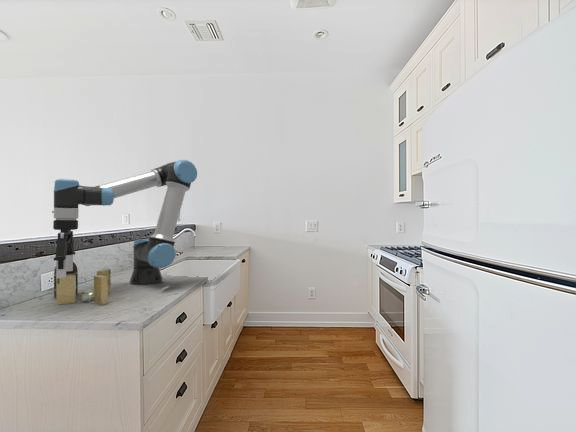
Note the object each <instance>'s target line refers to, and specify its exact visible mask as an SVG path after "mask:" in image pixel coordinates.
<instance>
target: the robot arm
mask: <svg viewBox="0 0 576 432" xmlns="http://www.w3.org/2000/svg"><path fill="white" fill-rule="evenodd" d="M197 178H198V170H197V168H196V166H195V164H194V163H193V162H192V161H190V160H188V159H178V160H176V161H173V162H169V163H168V162H167V163H166V164H163V165H160V166H158V167H155V168H153V169H151V170H150V171H149V172H145V173H140V174H138V175H133V176H129V177H125V178H122V179H118V180H115V181H110V182H106V183H103V184H100V185H96V186H87V185H85V186H84V185H80V182H79V180H77V179H69V178H58V179H55V180H54V189H53V210H52V211H51V214H53V219H54V220H53V223H52V224H53V226H52V227H53V228H52V229H53V230H55V231H56V230H57V231H59V232H58V233H57V242H56V247H55V257H54V258H53V261H56V265H55V267H56V278H66V271H73V262H74V256H75V255H76V251H75V247H74V231H73V230H75V231H77V230H78V228H79V220H78V219H79V213H80V212H79V205H82V206H85V207H90V206H91V207H92V206H112V205H113V204H114V201H115V200H114V199H117V198H120V197H125V196H127V195H130V194H134V193H137V192H140V191H143V190H147V189H151V188H155V187H157V188H160V187H165V186H166V187H167V188H166V192H165V195H164V198H163V202H162V206H161V209H160V213H159V215H158V219H157V222H156V226H155V229H154V233H153V234H151V235H149V238H141V239H135V240H134V241H133V246H132V248H133V271H132V273H131V276H130V279H129V284H130V285H133V286H149V285H155V284H163V283H162V282H163V275H162V273H161V272H162V271H161V270H160V269H163V268H167V267H169V266H170V265H171V264H172V263H174V260H175V258H176V256H177V255H176V254H177V252H176V249H175V243H176V240H175V239H174V235H175V230H176V226H177V223H178V220H179V216H180V212H181V209H182V206H183V201H184V198H185V195H186V192H189V191H190V188H191V186H192V183H193V182H194V181H195V180H197Z"/></svg>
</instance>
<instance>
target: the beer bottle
mask: <svg viewBox="0 0 576 432" xmlns="http://www.w3.org/2000/svg"><path fill="white" fill-rule="evenodd" d="M78 274H79V273H78V266H77V264H76V263H75V262H74V261H73V271H66V275H76V296H78V287H79V286H78V285H79V284H78V283H79V282H78V277H79V276H78ZM53 287H54V288H53V289H54V290H53V297H54V298H55V299H56V266H55V268H54V272H53Z"/></svg>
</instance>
